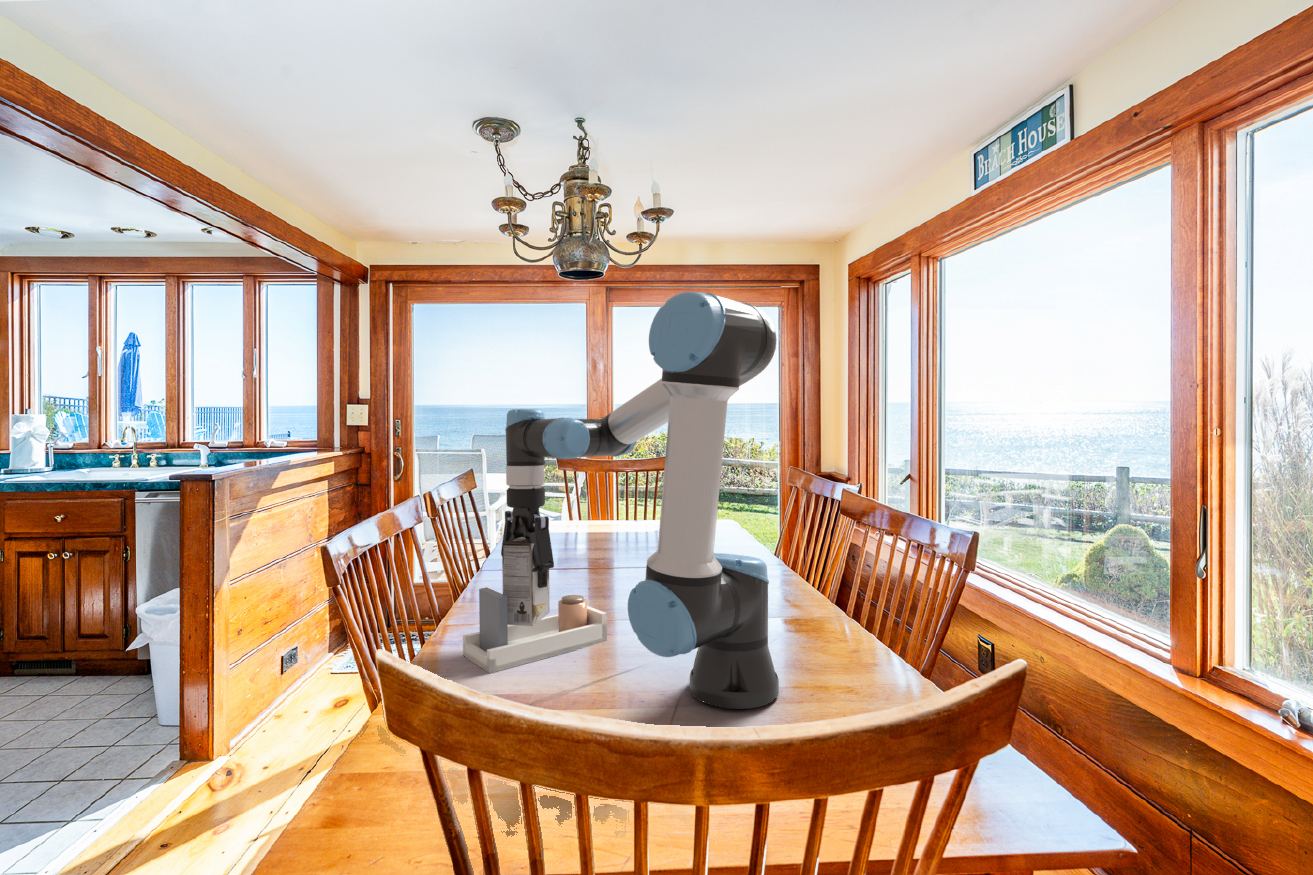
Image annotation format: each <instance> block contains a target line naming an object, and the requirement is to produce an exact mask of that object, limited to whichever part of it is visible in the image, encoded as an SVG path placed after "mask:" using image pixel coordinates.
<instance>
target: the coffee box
mask: <svg viewBox="0 0 1313 875" xmlns="http://www.w3.org/2000/svg"><path fill="white" fill-rule="evenodd" d="M533 546H534V543H529V542H528V540H527V539H525V538H524V537H518V538H513V539H511V540H509V541H506V542H504V543H501V549H502V555H501V558H502V561H501V563H502V564H501V565H502V568H501V569H502V594H503V595H506V596H507V625H521V626H533V625H534V624H536V623H537V622H538V621H540V620H541V619H542V618H543V617H547V616H548V615H549V614H550V569H548V570H547V603H543V604H538V605H533V574H532V569H533V568H535V567H534V563H533Z"/></svg>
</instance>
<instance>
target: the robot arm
mask: <svg viewBox="0 0 1313 875" xmlns="http://www.w3.org/2000/svg"><path fill="white" fill-rule="evenodd" d="M648 347H649V348H648V349H649V352H650V355H651V356H652V357H653V359H652V360H653V362H654V363H655V364H656V365H657V366H658V367H659V368H660V369H662V372H661V378H660V379H658V380H657V381H656V382H654V383H652V384H651V385H649V386H648V387H646V388H645V389H644V390H642V391H641V392H639V393H638V394H636V395H635V396H633V397H631V399H629V400H627V401H625V402H624V403H623V404H622V405H620V406H619V407H617V408H615V409H614V410H612V411H611V412H609V413H608V414H607V415H605V416H603V417H602V418H572V417H558V418H546V416H545V412H544V411H543V410H542V409H539V408H532V409H531V408H519V409H518V408H516V409H515V408H514V409H513V408H512V409H510V410H509V411H508V412H507V413H506V422H505V424H506V426H505V429H504V430H505V453H506V460H505V462H506V465H505V475H506V476H505V477H506V478H505V479H506V480H505V481H506V482H505V484H506V486H508V487H507V489H506V506H507V507H508V508H512V510H505V511H504V526H503V527H504V528H503V536H502V543H504V542H506V541H509V540H511V539H513V538H518V537H524V538H525V539H527V540H528V542H529V543H534V546H533V563H534V567H535V568H533V569H532V574H533V605H538V604H543V603H547V570H548V569H549V570H550V569H553V568H554V567H555V563H554V555H553V550H552V549H553V548H552V542H551V536H550V530H549V527H550V518H549V516H548V515H547V516H545V515H544V516H541V513H540V508H541V507H543V506H545V505H546V489H545V487H543V485H545V483H546V479H545V476H546V474H545V473H546V469H545V465H546V460H545V459H546V458H548V459H558V460H561V461H562V460H563V461H564V460H572V459H579V458H587V457H589V458H591V457H593V458H594V457H612V458H613V457H619V456H624V455H628V454H630V453H631V452H633V451H634V448H635V447H636V445H637V443H638V441H639V440H641V439H642V438H644V437H645V436H647V435H649V434H651V433H652V432H654V431H656V430H657V429H659V428H661V427H662V426H664V425H666V424H667V432H666V434H667V436H666V445H665V446H666V447H665V448H666V449H665V457H664V469H663V481H662V482H663V483H662V493H661V494H662V495H661V505H660V506H661V507H660V518H659V527H658V528H659V531H658V542H657V543H658V544H657V549H656V551H655V552H654V553H653V554H651V555H650V556H649V557H648V558H647V560H646V567H645V568H646V569H645V578H644V580H641V581H639V582H638V583H637V584H636V585H635V587H634V588H632V589H631V590H630V593H629V595H628V599H627V615H628V616H627V617H628V619H629V620H628V621H629V624H630V626H631V628H632V631H633V633H634V634H636V636H637V640H639V642H640V643H641V644H642V645H643V647H645V648H646V649H647V650H648V651H649V652H650V653H653V654H654V655H655V656H658V657H662V658H672V657H676V656H678V655H686V654H689V653H691V652H692V651H693V650H695V649H697V651H696V654H695V657H694V658H695V659H694V661H693V663H694V664H693V666H692V669H691V670H690V674H689V692H690V694H691V695H692V696H693V695H694V696H695V697H696V698H697V699H696V698H695V697H694V696H693V697H694V698H695V699H696V700H698V699H699V700H698V701H700V700H701V701H700V702H702V701H704V702H706V703H709V704H711V705H710V706H713V705H715V706H714V707H717V706H718V707H717V708H723V707H724V709H736V710H741V709H742V710H744V709H745V708H746V709H755V708H759V707H763V706H765V705H766V706H767V705H768V703H769V704H771V703H772V702H774V701H775V700H776V699H777V698H778V697H779V695H780V684H779V683H780V681H779V680H780V679H779V677H778V674H777V672H776V670H775V667H774V663H773V660H772V656H771V652H770V649H769V584H770V580H769V578H768V566H767V564H766V562H765V561H764V560H763V559H761V558H759V557H754V556H748V555H744V554H743V555H742V554H733V553H722V552H721V553H719V552H718V553H717V552H715V542H716V534H717V533H716V531H717V522H718V521H717V520H718V508H719V498H720V497H719V496H720V488H721V479H722V478H721V477H722V466H723V454H724V446H725V445H724V443H725V442H724V441H725V434H726V433H725V432H726V423H727V412H728V411H727V410H728V401H729V399H731V397H732V396H734V394H735V393H737V392H738V391H739V390H740V387H741V386H742V385H744V384H746V383H747V382H749V381H751V380H753V379H754V378H756V377H757V376H758V375H759V374H761V373H762V372H763V371H764V370H765V369H766V368H767V367H768V366H769V364H770V363H771V361H772V360H773V359H774V358H773V357H774V355H775V352H776V349H777V332H776V328H775V326H774V324H773V321H772V320H771V319H770V317H769V316H768V315H767V314H766V312H764V311H763V310H762V309H761V308H759V307H758V306H755V305H753V304H751V303H747V302H741V301H737V300H733V299H729V298H727V297H723V296H719V295H715V294H713V293H710V292H707V293H706V292H698V291H684V292H679V293H678V294H677V293H676V294H675V295H673V296H671V297H670V298H668V299H667V300H666V302H664V305H662V306H661V307H660V308H659V309H658V310H657V312H656V313H655V315H654V317H653V320H652V322H651V325H650V328H649V333H648ZM502 543H501V544H502ZM500 555H501V556H502V548H501V550H500ZM778 694H779V695H778ZM777 696H778V697H777ZM776 697H777V698H776ZM775 698H776V699H775ZM774 699H775V700H774ZM773 700H774V701H773ZM704 702H703V703H704ZM770 702H771V703H770ZM706 703H705V704H706ZM709 704H708V705H709Z"/></svg>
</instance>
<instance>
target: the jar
mask: <svg viewBox="0 0 1313 875" xmlns="http://www.w3.org/2000/svg"><path fill="white" fill-rule="evenodd" d="M557 602H558V603H557V606H558V610H557V614H558V627H559V632H562V631H566V630H570V629H574V628H578V627H582V626H587V606H588V600H587V599H585V597H584V596H583V595H580V594H568V595H565V596H562V597H561V599H560V600H558V601H557Z"/></svg>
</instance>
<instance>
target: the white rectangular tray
mask: <svg viewBox="0 0 1313 875" xmlns="http://www.w3.org/2000/svg"><path fill="white" fill-rule="evenodd" d="M507 626H508V645H504V646H500V647H496V648H492V649H488V650H487V652H485V651H484V650H482V649H481V648H480V631H477V632H471V633H467V634H463V635H462V656H463V655H464V656H465V657H464V656H463V657H464V658H466V659H467V660H469V661H471V662H472V663H473V664H475V665H476V666H478V667H480V668H481V669H483V670H484V671H485V672H487V673H488V674H494V673H498V672H500V671H504V670H508V669H512V668H515V667H518V666H523V665H527V664H530V663H533V662H537V661H541V660H544V659H545V660H546V659H549V658H552V657H556V656H559V654H560V655H564V654H568V653H571V652H575V651H577V650H578V649H579V650H581V649H584V648H587V647H590V646H594V645H597V644H600V643H603V642H606V641H607V640H608V613H607V612H605V611H602V610H600V609H598V608H597V609H596V608H594V607H592V606H589V605H587V626H582V627H578V628H574V629H570V630H566V631H562V632H559V627H558V613H557V614H553V615H549V616H548V615H547V616H545V617H543V618H542V619H541V620H540V621H538V622H537V623H536V624H534V625H533V626H521V625H507ZM579 650H578V651H579ZM563 653H564V654H563Z"/></svg>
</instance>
